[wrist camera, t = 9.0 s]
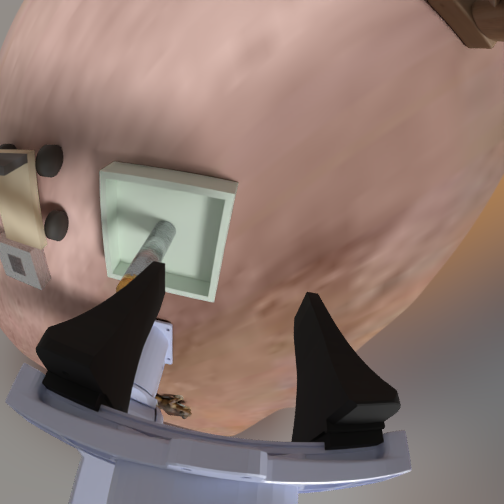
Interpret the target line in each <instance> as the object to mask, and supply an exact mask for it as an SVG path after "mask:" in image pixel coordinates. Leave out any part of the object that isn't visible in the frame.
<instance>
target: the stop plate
mask: <svg viewBox="0 0 504 504" xmlns="http://www.w3.org/2000/svg"><path fill="white" fill-rule="evenodd" d="M0 259H1V262H2V264H3V267H4V270H5V273H6V275H8V276H10V277H12V278H14V279H16V280H19V281H21V282H23V283H26V284H28V285H30V286H33V287H35V288H38V289H40V290H43V288H44V287H45V286H46V284H47V283H48V282H49V281H50V279H51V275H50V272H49V268H48V265H47V261H46V257H45V254H44V250H43V249H42V250H41V249H38V248H34V247H31V246H28V245H25V244H22V243H19V242H16V241H13V240H10V239H8V238H6V234H5V231H4V232H2V233H1V234H0Z"/></svg>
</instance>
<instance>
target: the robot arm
mask: <svg viewBox="0 0 504 504" xmlns="http://www.w3.org/2000/svg"><path fill="white" fill-rule="evenodd" d="M164 295H165V263H161V262H157V261H153V262H152V263H151V264H149V265H148V266H147V267H146V268H145V269H144V270H143V271H142V272H141V273H140V274H139V275H137V276H136V277H135V278H134V279H133V280H132V281H130V282H129V283H128V284H127V285H126V286H124V287H123V288H122V289H121V290H119V291H118V292H117V293H115V294H114V295H113V296H111V297H110V298H109V299H107V300H106V301H104V302H103V303H101V304H99V305H98V306H96V307H94V308H93V309H91V310H89V311H87V312H85V313H83V314H81V315H79V316H77V317H75V318H72V319H70V320H68V321H65V322H62V323H59V324H57V325H54V326H51V327H48V329H47V330H46V331H45V333H44V335H43V336H42V338H41V340H40V342H39V343H38V345H37V347H36V353H37V355H38V357H39V358H40V360H41V361H42V363H43V364H44V366H45V367H46V368H47V370H48V371H47V373H46V375H45V374H43V373H42V372H41V371H39V370H37V369H35V368H34V367H32V366H30V365H28V364H26V363H23V365H22V367H21V369H20V371H19V373H18V375H17V377H16V379H15V381H14V383H13V385H12V387H11V389H10V392H9V394H8V396H7V398H6V403H7V404H8V405H9V406H10V407H11V408H12V409H14V410H15V411H16V412H17V413H18V414H20V415H21V416H22V417H23V418H25V419H26V420H27V421H28V422H30V423H31V424H33V425H35V426H36V427H38V428H40V429H41V430H43V431H45V432H46V433H48V434H50V435H52V436H54V437H55V438H57V439H59V440H61V441H63V442H65V443H67V444H69V445H70V446H73V447H74V448H76V449H77V450H78V451H79V453H80V454H81V459H80V463H79V466H78V469H77V473H76V476H75V481H74V484H73V488H72V491H71V495H70V499H69V504H298V493H311V492H321V491H330V490H337V489H344V488H351V487H356V486H362V485H367V484H372V483H376V482H381V481H385V480H388V479H390V478H393V477H396V476H399V475H402V474H404V473H407V472H409V471H411V470H412V468H411V460H410V454H409V448H408V442H407V437H406V432H405V430H400V431H393V432H387V433H384V434H383V433H382V429H384V428H385V424H384V421H386V420H387V419H388V418H390V417H391V416H393V415H394V414H395V413H397V412H398V410H399V409H400V401H399V397H398V393H397V391H396V390H395V389H394V388H393V387H391V386H390V385H389V384H388V383H386V382H385V381H384V380H382V379H381V378H380V377H379V376H378V375H377V374H376V373H375V372H373V371H372V370H371V369H370V368H369V367H368V366H367V365H366V364H365V362H364V361H363V360H362V359H361V358H360V357H359V356H358V355H357V354H356V352H355V351H354V350H353V349H352V347H351V346H350V345H349V343H348V342H347V341H346V339H345V338H344V336H343V335H342V333H341V332H340V330H339V329H338V327H337V326H336V324H335V322H334V321H333V319H332V318H331V316H330V314H329V312H328V311H327V309H326V307H325V305H324V303H323V302H322V300H321V298H320V296H319V295H318V294H316V293H311V292H307V293H306V295H305V297H304V299H303V301H302V303H301V305H300V308H299V310H298V312H297V314H296V316H295V318H294V345H295V356H296V367H297V396H296V411H295V419H294V428H293V435H292V441H291V442H278V441H263V440H252V439H242V438H234V437H227V436H220V435H214V434H208V433H202V432H197V431H192V430H187V429H182V428H178V427H174V426H170V425H165V424H163V415H162V413H161V410H160V409H159V408H158V407H156V404H157V399H155V396H156V394H157V390H158V386H159V383H160V379H161V376H162V372H163V369H164V365H165V363H166V364H172V362H173V359H172V324H170V323H168V322H164V321H160V320H156V317H157V315H158V313H159V311H160V308H161V305H162V302H163V298H164Z"/></svg>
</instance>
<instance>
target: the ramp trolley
mask: <svg viewBox="0 0 504 504" xmlns="http://www.w3.org/2000/svg"><path fill="white" fill-rule="evenodd" d="M62 163H63V151H62V149H61V147H60V146H58V145H44V146H43V147H42V148H41V149H40V150H39V152H38V154H37V157H36V161H35V152H34V150H17V149H16V147H15V146H14V145H13V144H2V145H1V146H0V213H1V218H2V222H3V226H4V230H5V234H6V238H8V239H10V240H13V241H16V242H19V243H22V244H25V245H28V246H31V247H34V248H38V249H41V250H42V249H43V248H44V247H45V246H46V245H47V241H46V237H47V238H49V239H52V240H56V241H61V240H62V239H63V238H64V237H65V235H66V233H67V230H68V216H67V214H66V213H65V212H61V211H56V210H53V211H51V212H50V213H49V214H48V216H47V218H46V220H45V225H44V226H43V221H42V215H41V209H40V203H39V196H38V188H37V179H36V171H37V173H38V174H39V175H40V176H44V177H54V176H56V175H57V174H58V172H59V171H60V169H61V166H62ZM44 231H45V232H44ZM45 235H46V236H45Z"/></svg>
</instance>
